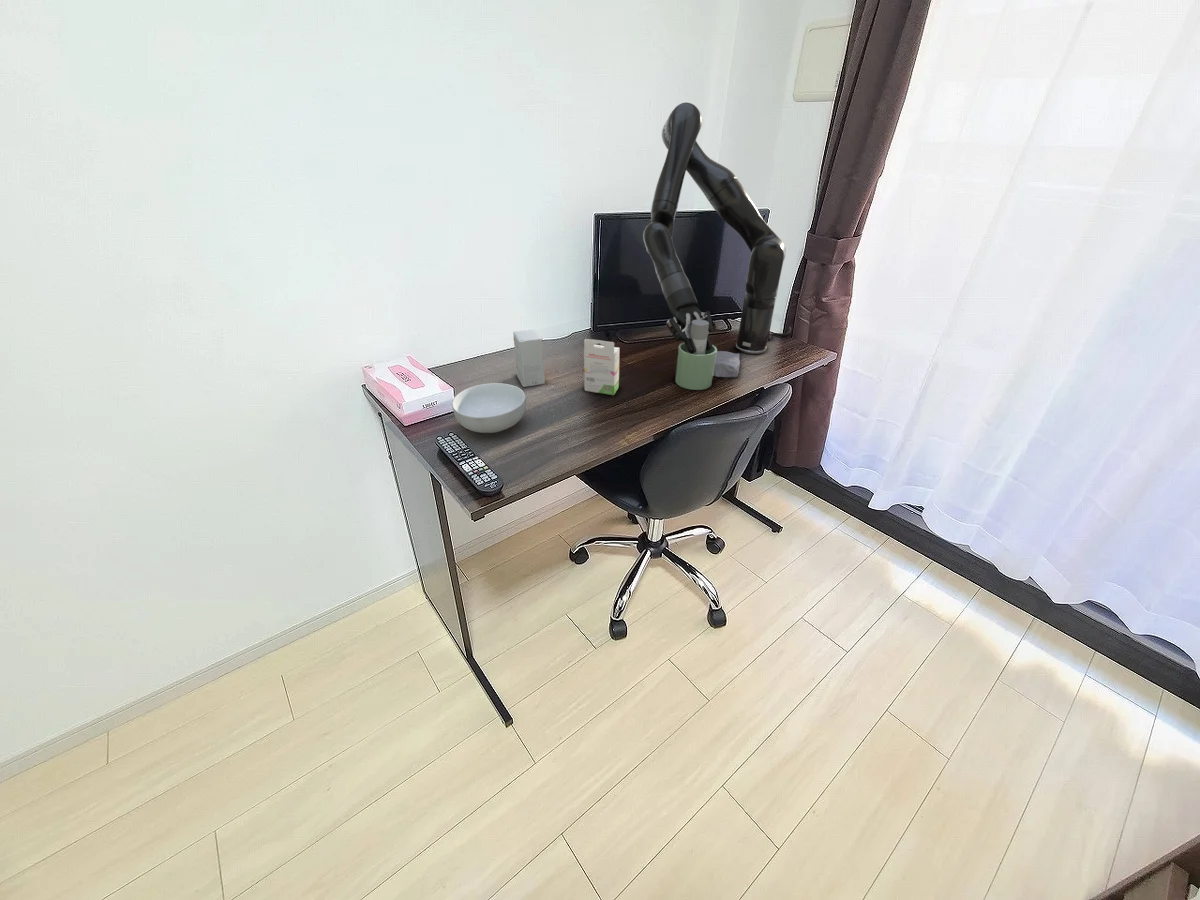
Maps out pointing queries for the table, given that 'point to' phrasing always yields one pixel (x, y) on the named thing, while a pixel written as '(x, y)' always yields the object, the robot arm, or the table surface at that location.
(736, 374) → the stone block
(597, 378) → the ink box
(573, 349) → the table surface
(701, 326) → the container
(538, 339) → the small box
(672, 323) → the robot arm
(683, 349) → the pen cup
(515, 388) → the cereal bowl
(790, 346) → the table surface
